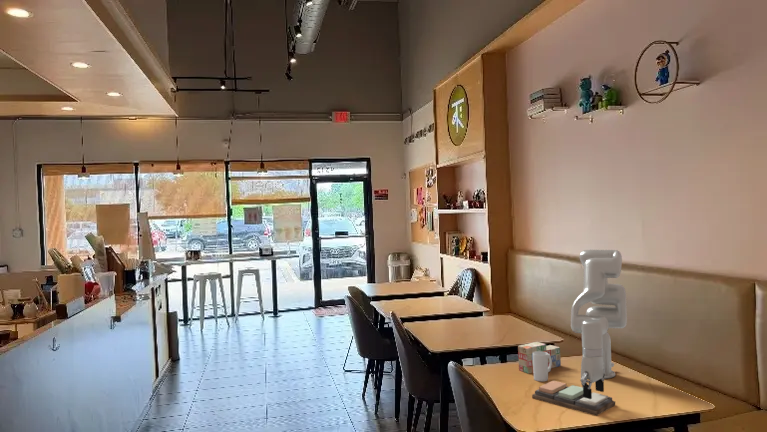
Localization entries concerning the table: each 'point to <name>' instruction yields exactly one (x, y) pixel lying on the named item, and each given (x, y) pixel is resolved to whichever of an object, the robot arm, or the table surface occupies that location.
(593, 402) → the cream tile
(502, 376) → the table surface
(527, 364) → the stack of blocks
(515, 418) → the table surface
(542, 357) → the mug
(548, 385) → the terracotta tile
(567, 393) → the sage tile
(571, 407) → the dark grey tile board
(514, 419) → the table surface
